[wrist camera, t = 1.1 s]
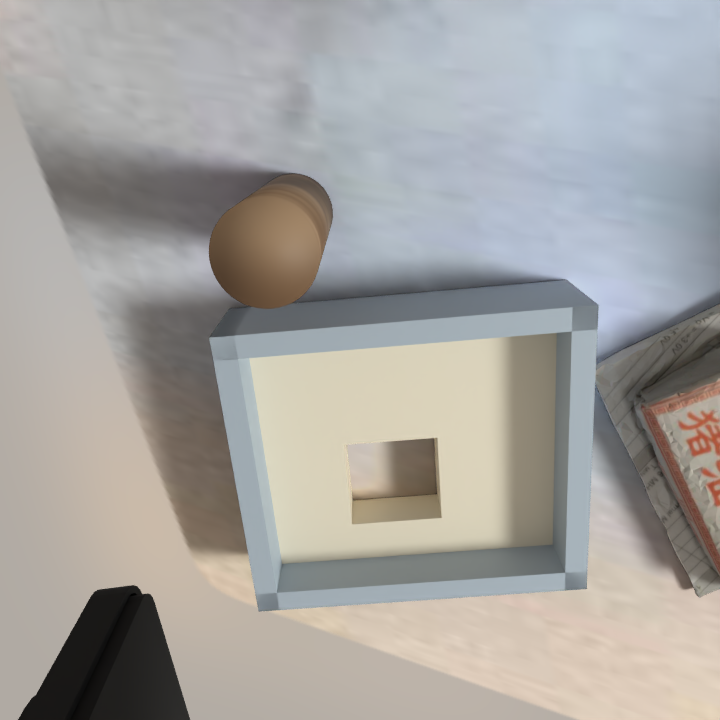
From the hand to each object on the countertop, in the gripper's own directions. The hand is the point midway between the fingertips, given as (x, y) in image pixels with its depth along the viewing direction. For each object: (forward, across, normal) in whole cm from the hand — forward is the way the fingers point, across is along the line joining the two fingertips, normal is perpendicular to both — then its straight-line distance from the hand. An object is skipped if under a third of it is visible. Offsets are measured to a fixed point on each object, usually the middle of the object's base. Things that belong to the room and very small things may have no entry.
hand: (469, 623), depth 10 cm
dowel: (+27, +4, -4) cm, 27 cm away
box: (+27, 0, +10) cm, 28 cm away
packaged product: (+27, -19, +14) cm, 36 cm away
